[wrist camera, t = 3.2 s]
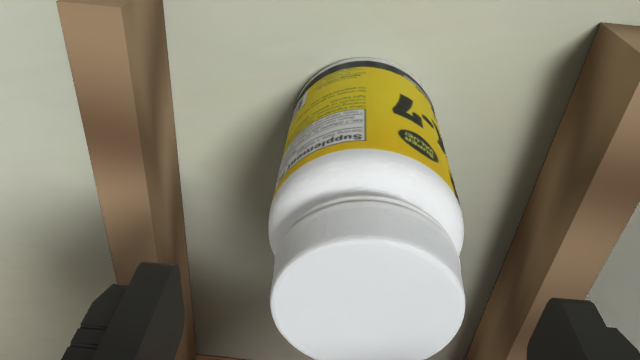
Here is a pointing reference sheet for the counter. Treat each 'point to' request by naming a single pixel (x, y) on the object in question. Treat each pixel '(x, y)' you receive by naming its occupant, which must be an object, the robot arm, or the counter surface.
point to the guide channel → (531, 236)
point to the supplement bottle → (366, 220)
